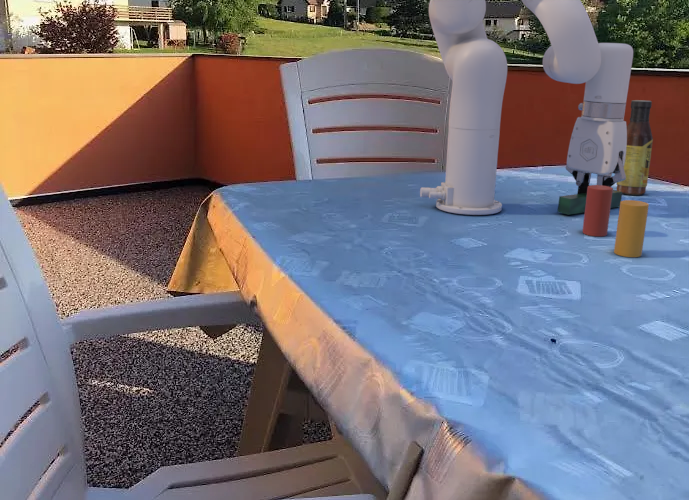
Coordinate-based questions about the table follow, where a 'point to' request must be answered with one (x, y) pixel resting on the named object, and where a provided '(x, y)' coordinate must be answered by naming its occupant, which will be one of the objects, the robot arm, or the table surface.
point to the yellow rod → (631, 228)
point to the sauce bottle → (637, 149)
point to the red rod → (597, 210)
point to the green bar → (582, 202)
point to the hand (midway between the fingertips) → (589, 207)
